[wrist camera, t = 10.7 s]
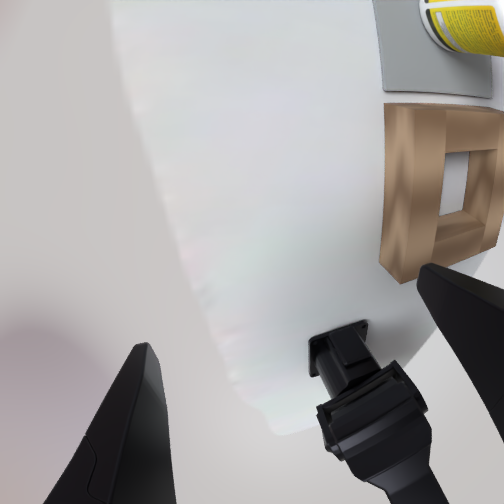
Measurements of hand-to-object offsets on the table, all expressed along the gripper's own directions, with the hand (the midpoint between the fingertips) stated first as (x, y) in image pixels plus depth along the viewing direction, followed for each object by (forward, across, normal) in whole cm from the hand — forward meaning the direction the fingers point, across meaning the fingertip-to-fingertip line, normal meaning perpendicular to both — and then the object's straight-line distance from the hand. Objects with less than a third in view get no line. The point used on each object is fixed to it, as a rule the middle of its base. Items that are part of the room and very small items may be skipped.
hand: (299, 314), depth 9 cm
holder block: (+13, -19, +3) cm, 23 cm away
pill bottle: (+13, -19, -12) cm, 26 cm away
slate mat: (+13, -19, -12) cm, 26 cm away
